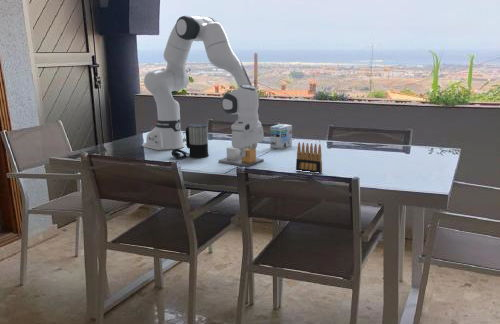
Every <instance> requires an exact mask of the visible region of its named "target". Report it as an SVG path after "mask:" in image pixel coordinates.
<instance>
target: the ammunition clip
mask: <svg viewBox="0 0 500 324" xmlns="http://www.w3.org/2000/svg"><path fill="white" fill-rule="evenodd" d="M309 145H310V146H309ZM296 151H297V152H296V159H295V160H296V162H295V171H296V170H302V171H310V172H319V173H321V172H322V173H323V162H322V160H323V159H322V156H323V155H322V146H321V144H320V143H319V145H318V146H317V143H315V144H314V146H313V143H310V144H309V142H307V143H306V146H305V141H304V142H302V144H301V142H298V143H297V150H296ZM322 173H321V174H322Z"/></svg>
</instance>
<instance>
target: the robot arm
mask: <svg viewBox="0 0 500 324" xmlns="http://www.w3.org/2000/svg"><path fill="white" fill-rule="evenodd" d="M193 42H203V45H204V49H205V53H206V56H207V58H208V61H209V62H210V63H211V65H213V66H214V67H216V68H217V69H222V70H224V71H226V72H228V73H229V74H231V75H232V77H233V78H234V80H235V82H236V84H237V87H238V88H236V89H234V90H233V91H230V92H226V93H225V94H223V96H222V97H221V98H222V99H221V102H220V103H221V104H220V105H221V108H222V110H223V111H224V113H226V114H227V115H237V119H236V120H235V122H234V123H232V124H231V127H230V128H231V129H230V130H232V131H231V147H232V146H233V148H237V149H240V151H241V156H242V157H246V156H247V152H245V147H246V146H249V145H252V149H256V150H257V147H258V143H261V142H263V141H264V138H265V137H264V127H263V125H262V122H261V121H260V120H259V119H260V116H259V113H258V111H259V110H258V109H259V106H260V96H259V92H258V90H257V87H255V86H253V84H252V83H251V82H252V81H251V79H250V77H249V76H248V74H247V71H246V69H245V66H244V65H243V62H242V60H241V59H240V58H239V57H238V56H237V55H236V53H235V52H234V50H233V49H232V46H231V43H230V40H229V38H228V35H227V32H226V31H225V29H224V26H223V25H222V24H221V23H219V22H218V20H216V19H214V18H211V17H206V16H202V15H187V14H186V15H183V16H180V17H179V18H177V20H176V23H174V26H173V28H172V29H171V32H170V34H169V36H168V39H167V42H166V45H165V48H164V52H163V58H164V60H165V62H166V63H167V66H166V68H165V69H154V70H151V71H149V72H147V73H146V74H145V75H144V79H143V84H144V87H145V89H146V90H147V91H148V92H149V93H151V95H152V97H153V99H154V101H155V104H156V110H157V111H156V112H157V120H153V123H154V124H155V127H154V128H152V129H151V130H150V131H149V132H148V133H147V134H146V139H145V142H144V143H142V144H141V147H143V148H147V149H152V150H155V151H163V150H174V149H181V148H184V147H185V143H184V139H183V135H182V134H183V133H182V120H181V119H182V118H181V113H180V111H181V109H180V107H181V106H180V102H178V101H177V100H176V99H174V97H173V93H172V92H176V91H181V90H184V89H186V88H187V87H188V85H189V83H190V76H189V74H188V73H187V72H186V65H187V64H186V62H187V60H188V57H189V53H190V50H191V47H192V44H193Z"/></svg>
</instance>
